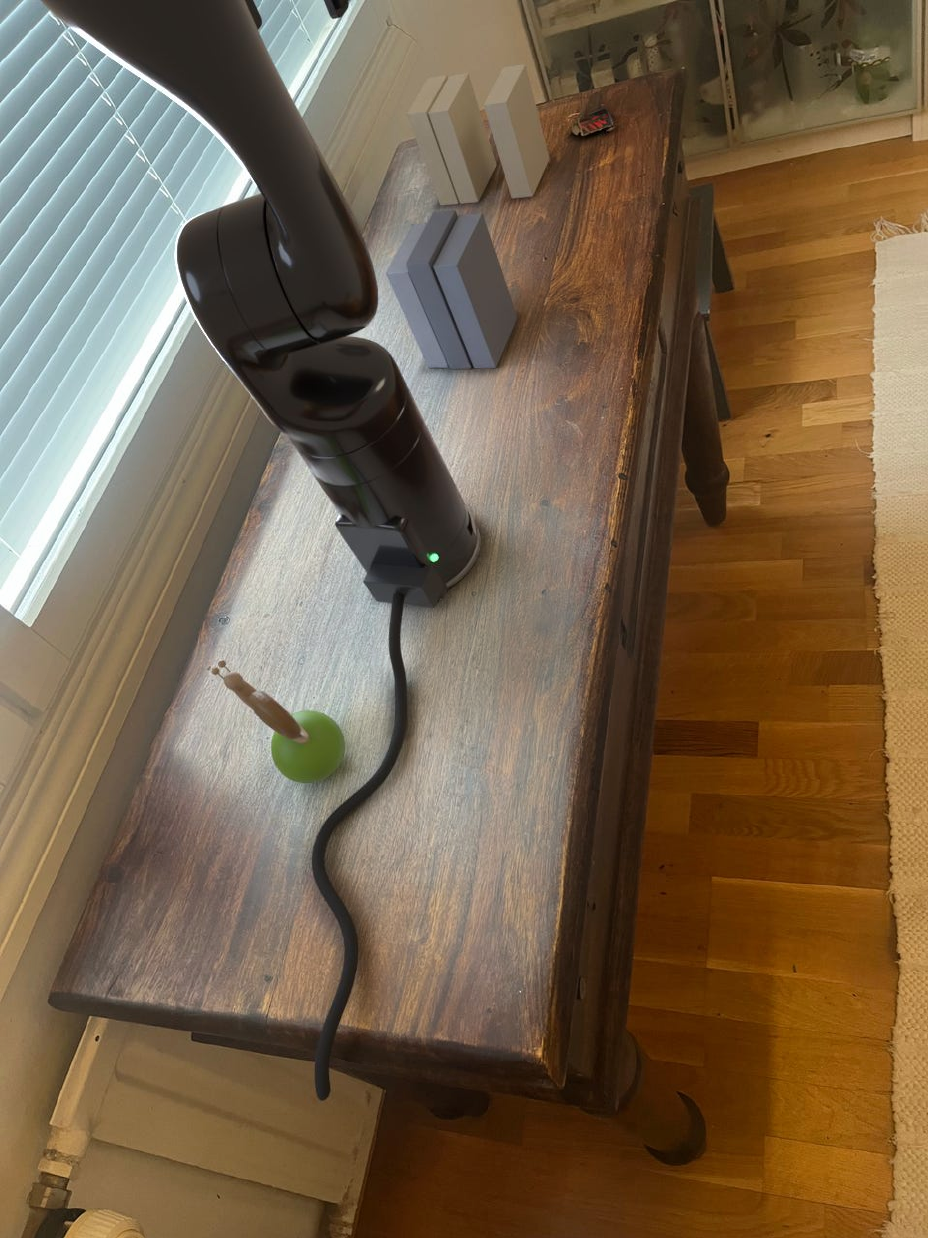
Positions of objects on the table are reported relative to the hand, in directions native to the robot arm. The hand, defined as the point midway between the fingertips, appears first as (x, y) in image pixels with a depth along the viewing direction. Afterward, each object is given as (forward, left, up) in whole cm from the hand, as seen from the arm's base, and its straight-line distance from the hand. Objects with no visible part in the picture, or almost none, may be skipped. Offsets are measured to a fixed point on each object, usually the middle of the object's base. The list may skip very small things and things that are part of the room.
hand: (297, 21), depth 75 cm
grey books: (-4, -7, -30) cm, 31 cm away
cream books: (+23, +3, -30) cm, 38 cm away
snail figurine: (-50, -10, -30) cm, 59 cm away
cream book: (+23, -5, -30) cm, 38 cm away
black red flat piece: (+32, -10, -30) cm, 45 cm away
